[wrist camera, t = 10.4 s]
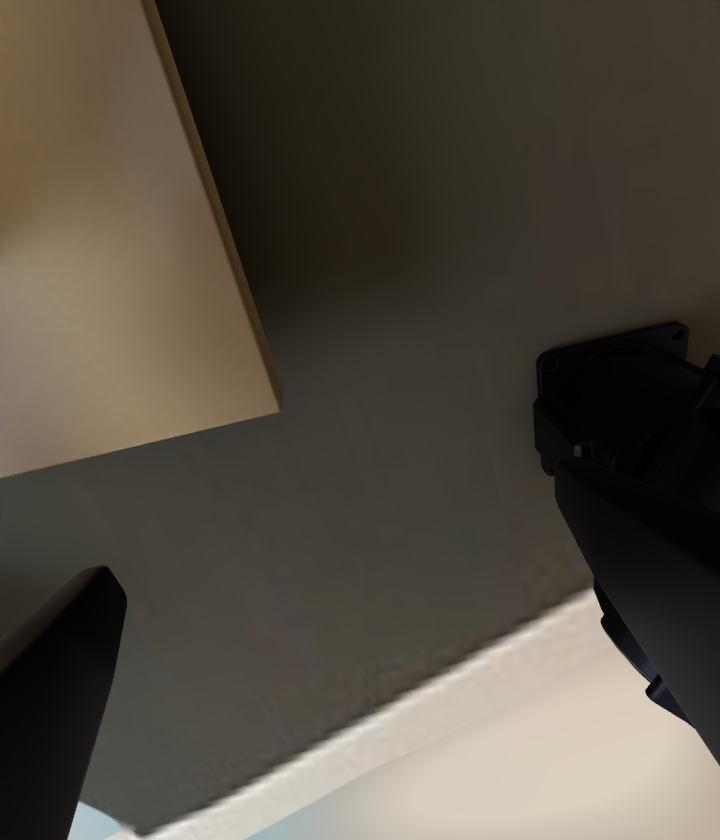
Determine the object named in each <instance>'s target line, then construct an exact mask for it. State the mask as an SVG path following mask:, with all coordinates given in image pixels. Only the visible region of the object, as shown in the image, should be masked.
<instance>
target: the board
mask: <svg viewBox="0 0 720 840" xmlns="http://www.w3.org/2000/svg"><path fill="white" fill-rule="evenodd" d="M283 392H284V391H283V388H282V385H281V382H280V379H279V376H278V373H277V370H276V367H275V364H274V361H273V358H272V355H271V352H270V349H269V346H268V343H267V340H266V337H265V334H264V331H263V328H262V325H261V322H260V319H259V316H258V313H257V310H256V307H255V304H254V301H253V298H252V295H251V292H250V289H249V286H248V282H247V279H246V276H245V273H244V270H243V267H242V264H241V261H240V258H239V255H238V252H237V249H236V246H235V243H234V240H233V237H232V234H231V231H230V228H229V225H228V222H227V219H226V216H225V213H224V210H223V207H222V204H221V201H220V198H219V195H218V192H217V189H216V186H215V183H214V180H213V177H212V173H211V170H210V167H209V164H208V161H207V158H206V155H205V152H204V149H203V146H202V143H201V140H200V137H199V134H198V131H197V128H196V125H195V122H194V119H193V116H192V113H191V110H190V107H189V104H188V101H187V98H186V95H185V92H184V89H183V86H182V83H181V80H180V77H179V74H178V71H177V68H176V64H175V61H174V58H173V55H172V52H171V49H170V46H169V43H168V40H167V37H166V34H165V31H164V28H163V25H162V22H161V19H160V16H159V13H158V10H157V7H156V4H155V1H154V0H0V478H4V477H8V476H12V475H16V474H21V473H25V472H29V471H33V470H37V469H42V468H46V467H50V466H54V465H59V464H63V463H67V462H71V461H75V460H80V459H84V458H88V457H92V456H96V455H101V454H105V453H109V452H113V451H117V450H122V449H126V448H130V447H134V446H139V445H143V444H147V443H151V442H155V441H160V440H164V439H168V438H172V437H176V436H181V435H185V434H189V433H193V432H197V431H202V430H206V429H210V428H214V427H219V426H223V425H227V424H231V423H235V422H240V421H244V420H248V419H252V418H256V417H261V416H265V415H269V414H273V413H278V412H280V411H281V405H282V399H283Z"/></svg>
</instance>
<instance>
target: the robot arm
mask: <svg viewBox="0 0 720 840" xmlns="http://www.w3.org/2000/svg"><path fill="white" fill-rule="evenodd" d="M676 330H677V333H676V335H675V336H674V337H672V334H673V333H674V332H675V331H676ZM688 337H689V328H688V327H687V326H686V325H684V324H682V323H679V322H677V321H675V322H669V323H664V324H660V325H656V326H652V327H648V328H643V329H639V330H635V331H631V332H627V333H622V334H618V335H614V336H610V337H605V338H601V339H597V340H593V341H589V342H584V343H580V344H576V345H572V346H568V347H563V348H559V349H555V350H551V351H547V352H544V353H542V354H541V355H540V356H539V358H538V359H537V363H536V368H537V388H538V399H536V401H535V402H534V404H533V413H534V431H535V447H536V449H537V451H538V452H539V453H540V454H541V466H542V469H543V470H544V472H545V473H546V474H547V475H549V476H554V477H555V497H556V501H557V504H558V507H559V509H560V511H561V513H562V515H563V517H564V519H565V520H566V522H567V524H568V526H569V528H570V530H571V532H572V534H573V536H574V538H575V540H576V542H577V544H578V546H579V548H580V550H581V552H582V554H583V556H584V558H585V560H586V562H587V564H588V566H589V567H590V569H591V571H592V573H593V575H594V586H593V589H594V591H595V594H596V596H597V599H598V602H599V604H600V607H601V609H602V611H603V613H604V615H603V617H602V618H601V624H602V627H603V629H604V631H605V632H606V634H607V635H608V636H609V638H610V639H611V640H612V642H613V643H614V644H615V646H616V647H617V648H618V650H619V651H620V652H621V653H622V654H623V655H624V656H625V657H626V659H627V660H628V661H629V662H630V663H631V664H632V666H633V667H634V668H635V669H636V670H637V671H638V672H639V673H640V674H641V675H642V676H643V677H644V678H646V679H647V680H648V681H649V682H650V685H649V686H648V688H647V689H646V690H645V691H646V695H647V696H648V697H649V699H651V700H652V701H653V702H655V703H656V704H658V705H659V706H661V707H663V708H664V709H666V710H668V711H669V712H671V713H672V714H674V715H676V716H677V717H679V718H680V719H682V720H684V721H686V722H687V723H688V724H689V725H691V726H692V727H693V728H694V729H696V731H697V732H698V734H699V735H700V737H701V738H702V740H703V741H704V743H705V744H706V746H707V747H708V749H709V750H710V752H711V753H712V755H713V757H714V758H715V760H716V761H717V763H718V764H719V766H720V355H718V354H712V356H711V357H710V359H709V361H708V362H707V364H706V366H705V367H704V369H702V368H700V367H698V366H696V365H694V364H692V363H690V362H688V361H686V355H687V346H688ZM549 360H553V363H552V365H551V366H549V367H546V363H547V362H548V361H549ZM550 467H551V468H550ZM126 608H127V597H126V594H125V592H124V590H123V588H122V587H121V585H120V584H119V582H118V581H117V579H116V578H115V576H114V575H113V573H112V572H111V570H110V569H109V568H108V567H107V566H103V565H101V566H97V567H92V568H88V569H85V570H83V571H81V572H80V573H79V574H77V575H76V576H75V577H74V578H73V579H71V580H70V581H69V582H68V583H67V584H65V585H64V586H63V587H62V588H60V589H59V590H58V591H57V592H56V593H54V594H53V595H52V596H51V597H50V598H48V599H47V600H46V601H45V602H44V603H42V604H41V605H40V606H39V607H38V608H36V609H35V610H34V611H33V612H32V613H30V614H29V615H28V616H27V617H26V618H24V619H23V620H22V621H21V622H20V623H18V624H17V625H16V626H15V627H13V628H12V629H11V630H10V631H9V632H7V633H6V634H5V635H4V636H3V637H1V638H0V840H67V839H68V835H69V832H70V828H71V825H72V821H73V818H74V814H75V811H76V808H77V804H78V801H79V797H80V794H81V790H82V787H83V783H84V780H85V776H86V773H87V769H88V766H89V763H90V759H91V756H92V752H93V749H94V745H95V742H96V738H97V735H98V731H99V728H100V724H101V721H102V717H103V714H104V711H105V707H106V704H107V700H108V697H109V693H110V689H111V686H112V682H113V677H114V673H115V668H116V663H117V657H118V652H119V646H120V641H121V635H122V630H123V624H124V619H125V614H126Z"/></svg>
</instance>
